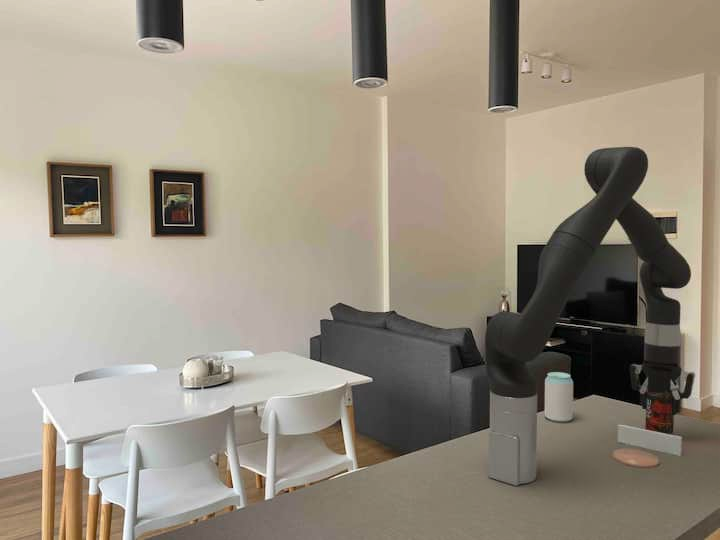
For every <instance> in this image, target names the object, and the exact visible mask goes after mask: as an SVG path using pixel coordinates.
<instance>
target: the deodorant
mask: <svg viewBox="0 0 720 540" xmlns="http://www.w3.org/2000/svg"><path fill="white" fill-rule="evenodd" d="M647 377H648V386H647V395H646V409H645V430H650V431H655V432H660V433H665V434H670V435H672V434H673V433H674V429H675V428H674V423H675V422H674V421H675V420H674V419H675V415H673V399H674V396H673V394H672V391H671V390H670V386H671V380H672V381H673V371H670V370H663V369H656V368H649V367H648V369H647V376H646V378H647ZM673 383H674V385H675V381H673Z"/></svg>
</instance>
